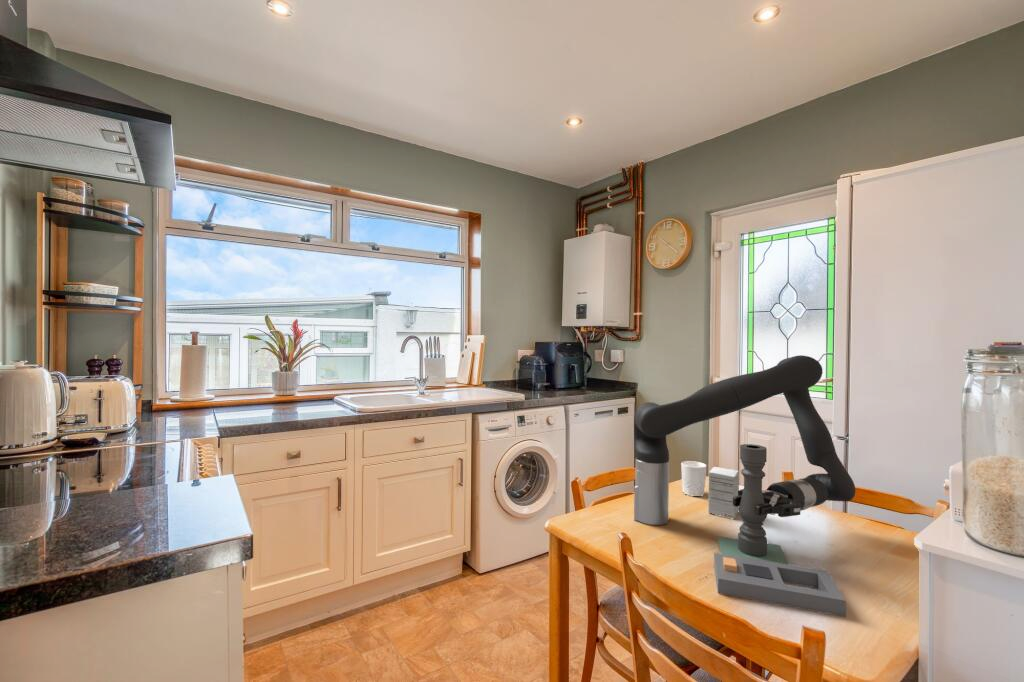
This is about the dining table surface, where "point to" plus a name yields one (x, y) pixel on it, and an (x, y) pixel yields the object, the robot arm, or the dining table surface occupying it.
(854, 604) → the dining table surface
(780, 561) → the mat
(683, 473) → the white cup
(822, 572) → the grey compartment tray
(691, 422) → the robot arm
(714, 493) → the supplement box
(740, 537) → the candle holder
